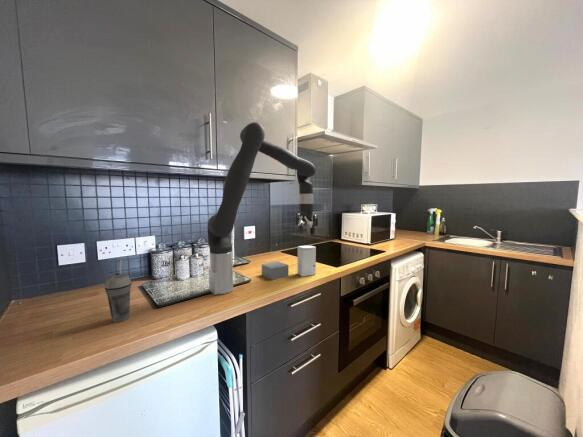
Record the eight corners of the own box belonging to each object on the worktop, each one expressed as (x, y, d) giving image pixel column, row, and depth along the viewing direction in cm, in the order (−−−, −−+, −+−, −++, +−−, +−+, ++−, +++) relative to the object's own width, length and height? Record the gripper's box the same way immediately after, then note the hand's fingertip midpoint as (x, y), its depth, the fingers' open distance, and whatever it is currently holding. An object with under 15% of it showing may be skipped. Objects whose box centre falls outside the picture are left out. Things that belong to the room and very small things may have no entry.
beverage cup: (105, 319, 78) (101, 260, 76) (131, 311, 83) (127, 256, 82) (108, 327, 73) (103, 264, 71) (136, 318, 78) (132, 260, 76)
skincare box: (302, 276, 119) (301, 248, 117) (296, 273, 124) (296, 246, 123) (316, 274, 122) (316, 246, 121) (310, 271, 128) (310, 244, 126)
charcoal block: (272, 280, 114) (271, 268, 114) (261, 275, 122) (261, 264, 122) (288, 276, 120) (288, 265, 120) (277, 271, 128) (277, 261, 128)
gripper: (291, 202, 123) (292, 233, 124) (310, 203, 112) (310, 236, 114) (302, 202, 128) (302, 231, 129) (321, 202, 117) (321, 234, 118)
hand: (306, 234), depth 121 cm, fingers open, 8 cm apart
